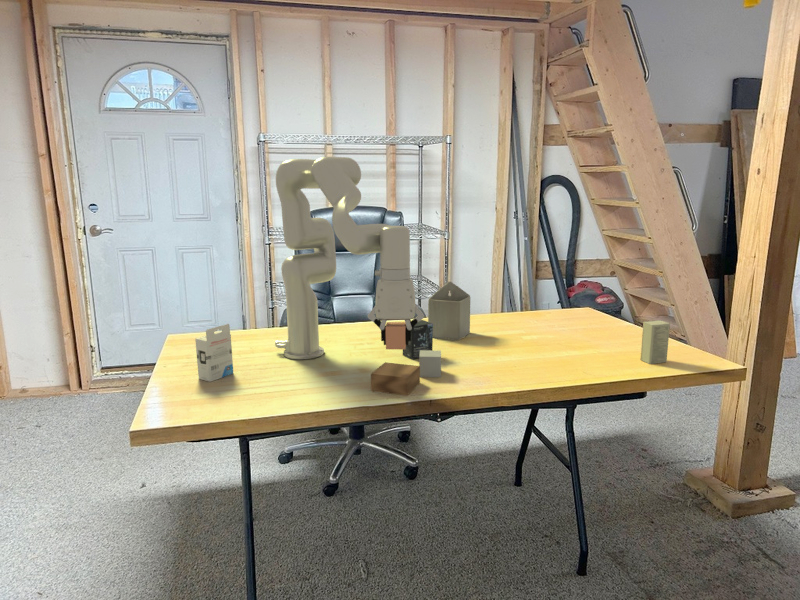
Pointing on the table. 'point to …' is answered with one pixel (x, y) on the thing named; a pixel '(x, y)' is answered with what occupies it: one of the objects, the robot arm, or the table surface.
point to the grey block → (430, 363)
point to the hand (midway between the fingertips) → (396, 343)
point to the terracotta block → (395, 335)
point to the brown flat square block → (395, 378)
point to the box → (419, 339)
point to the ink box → (214, 354)
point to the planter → (449, 312)
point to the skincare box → (655, 341)
